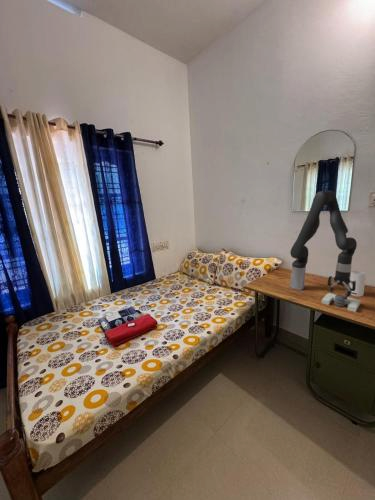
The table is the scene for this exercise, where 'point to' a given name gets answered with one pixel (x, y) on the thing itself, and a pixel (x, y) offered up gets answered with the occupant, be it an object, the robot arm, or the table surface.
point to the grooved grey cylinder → (340, 300)
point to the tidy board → (351, 303)
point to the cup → (358, 282)
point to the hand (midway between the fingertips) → (340, 294)
